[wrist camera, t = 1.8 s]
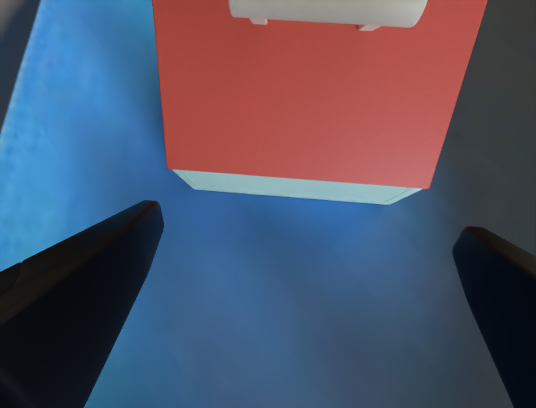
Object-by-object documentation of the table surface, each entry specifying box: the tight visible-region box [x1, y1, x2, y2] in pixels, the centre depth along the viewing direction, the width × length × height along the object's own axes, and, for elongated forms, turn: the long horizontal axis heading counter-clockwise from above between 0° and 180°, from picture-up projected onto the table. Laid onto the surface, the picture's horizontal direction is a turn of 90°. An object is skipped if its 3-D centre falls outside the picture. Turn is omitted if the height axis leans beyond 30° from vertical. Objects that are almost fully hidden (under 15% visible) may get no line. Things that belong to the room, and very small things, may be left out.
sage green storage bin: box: [172, 169, 422, 205], centre depth 21 cm, size 12×15×5 cm
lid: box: [152, 0, 488, 189], centre depth 12 cm, size 13×15×6 cm
